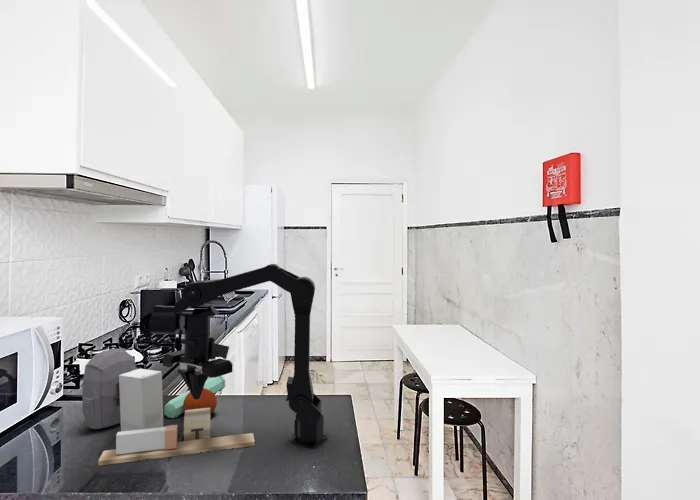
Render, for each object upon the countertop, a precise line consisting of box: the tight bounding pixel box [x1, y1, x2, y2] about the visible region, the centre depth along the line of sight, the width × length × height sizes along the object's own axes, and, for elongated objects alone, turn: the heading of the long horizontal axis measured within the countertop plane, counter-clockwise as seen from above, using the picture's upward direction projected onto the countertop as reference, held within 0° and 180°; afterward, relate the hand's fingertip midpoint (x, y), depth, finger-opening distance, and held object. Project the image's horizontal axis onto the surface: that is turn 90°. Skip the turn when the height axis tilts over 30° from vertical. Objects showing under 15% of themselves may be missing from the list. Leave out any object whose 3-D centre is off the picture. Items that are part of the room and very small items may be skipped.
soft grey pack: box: [81, 348, 138, 430], centre depth 117 cm, size 15×8×20 cm, turn 156°
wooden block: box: [183, 408, 211, 441], centre depth 109 cm, size 6×6×6 cm
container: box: [163, 375, 226, 419], centre depth 133 cm, size 6×6×25 cm
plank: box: [97, 432, 256, 467], centre depth 102 cm, size 33×5×1 cm, turn 108°
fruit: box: [183, 388, 218, 414], centre depth 123 cm, size 9×9×8 cm
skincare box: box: [119, 368, 164, 432], centre depth 110 cm, size 8×7×16 cm
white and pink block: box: [115, 424, 178, 455], centre depth 100 cm, size 12×3×4 cm, turn 108°
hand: (196, 398), depth 106 cm, fingers closed
